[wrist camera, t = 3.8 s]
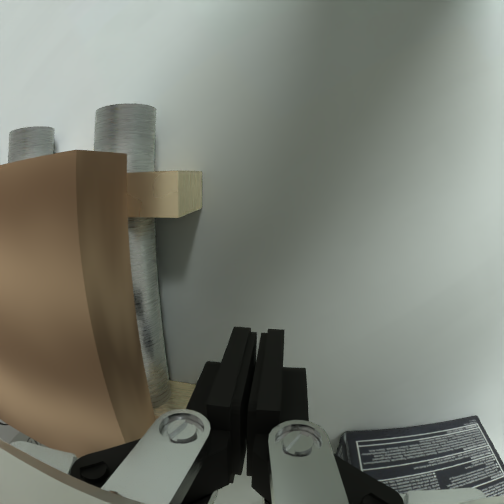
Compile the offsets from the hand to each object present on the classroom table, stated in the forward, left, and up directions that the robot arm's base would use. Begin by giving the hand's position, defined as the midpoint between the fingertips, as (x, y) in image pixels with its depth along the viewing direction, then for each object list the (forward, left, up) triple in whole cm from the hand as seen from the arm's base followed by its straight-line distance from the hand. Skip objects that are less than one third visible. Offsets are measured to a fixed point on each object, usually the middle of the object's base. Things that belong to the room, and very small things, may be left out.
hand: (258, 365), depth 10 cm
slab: (0, -14, -1) cm, 14 cm away
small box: (+11, +10, -4) cm, 16 cm away
